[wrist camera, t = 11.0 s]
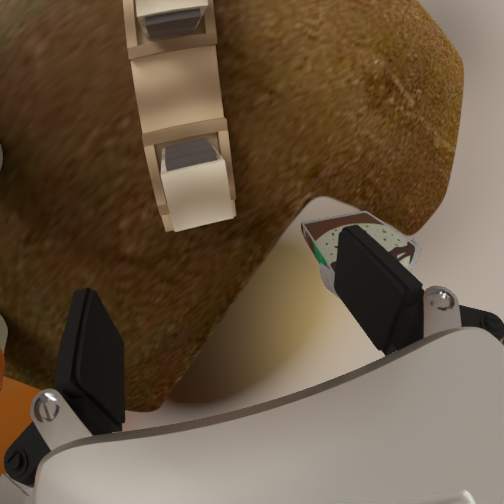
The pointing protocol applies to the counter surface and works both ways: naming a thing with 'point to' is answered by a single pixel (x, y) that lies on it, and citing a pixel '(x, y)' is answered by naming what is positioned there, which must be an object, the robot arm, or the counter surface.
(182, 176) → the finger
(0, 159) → the coffee cup
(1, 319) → the reusable coffee cup
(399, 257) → the food container
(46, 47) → the counter surface
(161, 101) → the rail
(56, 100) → the counter surface
